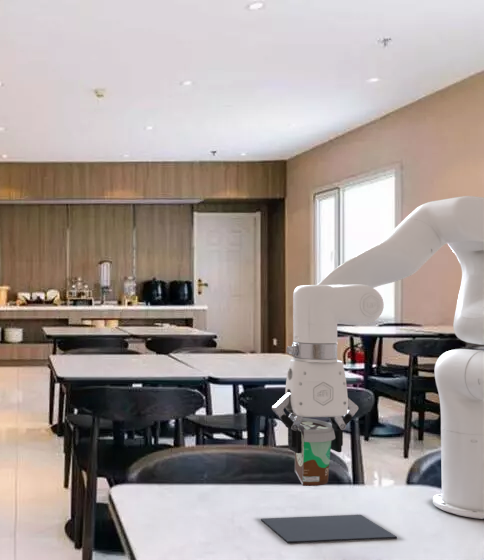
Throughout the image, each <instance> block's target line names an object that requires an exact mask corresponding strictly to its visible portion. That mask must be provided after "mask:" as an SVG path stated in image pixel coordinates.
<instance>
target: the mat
mask: <svg viewBox="0 0 484 560" xmlns="http://www.w3.org/2000/svg"><path fill="white" fill-rule="evenodd" d="M260 520H261V522H263V524H265V525H266V526H267V527H268V528H269V529H271V530H272V531H273V532H274V534H276V535H278V536H279V538H281V539H282V540H283V541H284V542H286V543H287V544H298V543H299V544H302V543H303V544H304V543H305V544H306V543H322V542H324V543H325V542H345V541H347V542H348V541H369V540H391V539H393V540H395V539H398V536H397V535H395V534H393V533H391V532H390V531H388V530H387V529H385V528H383V527H382V526H380V525H378V524H377V523H376V522H374V521H372V520H370V519H369V518H367V517H365V516H363V515H362V514H345V515H343V514H341V515H318V516H316V515H315V516H293V517H292V516H291V517H272V518H271V517H269V518H268V517H267V518H260Z"/></svg>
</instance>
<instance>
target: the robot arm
mask: <svg viewBox="0 0 484 560" xmlns="http://www.w3.org/2000/svg"><path fill="white" fill-rule="evenodd" d="M446 244H447V245H448V247H449V248H450V250H452V253H454V255H455V257H456V259H457V260H458V263H459V265H460V268H461V282H460V288H459V292H458V297H457V301H456V306H455V312H454V317H453V325H452V327H453V333H454V335H455V336H456V337H457V338H458V339H459V340H460V341H463V342H465V343H469V344H474V345H481V346H482V345H483V346H484V197H483V196H474V195H463V196H456V197H450V198H445V199H439V200H432V201H428V202H425V203H423V204H421V205H419V206H417V207H416V208H414V210H413V211H411V213H409V214H408V215H407V216H406V217H405V218H404V219H403V220H402V221H401V222H400V223H399V224H398V225H397V226H396V227H395V228H394V229H393V230H391V232H389V233H388V234H387V235H386V236H385V237H384V238H383V239H382V240H380V242H379V243H377V244H375V245H373V246H371V247H369V248H367V249H365V250H364V251H362V252H360V253H359V254H357V255H355V256H353V257H352V258H350V259H348V260H346V261H345V262H342V263H341V264H339V265H338V266H337V267H336V268H334V269H333V270H332V271H330V272H329V273H328V274H327V275H326V276H325V277H323V278H322V279H321V280H320V282H318V283H317V284H302V285H298V286H296V287H295V288H294V290H293V294H292V342H291V345H290V346H289V345H287V347H286V349H285V350H286V353H287V355H292V359H289V362H288V368H287V373H286V381H285V389H284V390H285V392H284V393H285V394H284V395H283V396H282V397H281V398H279V400H277V402H276V403H274V404H273V405H272V406H271V410H272V412H273V413H274V414H275V415H276V416H277V417H278V419H279V421H280V422H281V423H282V424H283V425H284V427H285V428H287V446H288V447H289V449H290V451H292V452H294V453H295V452H296V453H300V452H301V431H299V430H298V428H299V426H300V424H301V422H302V420H303V418H328V420H329V423H330V424H331V425H332V428H333V429H334V433H335V439H334V440H331V451H335V452H336V453H342V449H343V445H344V430H346V428H347V425H348V424H349V423H350V422H351V421H352V419H353V417H354V416H355V415H356V414H357V412H358V411H359V406H358V405H357V404H356V403H355V402H354V401H352V400H351V398H349V397H348V386H347V378H346V377H347V376H346V372H345V367H344V364H343V361H342V360H339V359H338V325H348V326H364V325H369V324H372V323H373V322H375V321H377V320H378V319H379V318H380V317H381V315H382V314H383V311H384V299H383V297H382V295H381V293H380V292H379V291H378V290H377V289H375V288H377V287H380V286H384V285H388V284H392V283H395V282H399V281H401V280H403V279H406V278H409V277H411V276H413V275H414V274H416V273H417V272H418V271H419V270H420V269H422V267H423V266H424V265H425V264H426V263H427V262H428V261H429V260H430V259H431V258H432V257H433V256H434V255H435V254H436V253H437V252H438V251H439V250H440V249H441V248H442V247H443V246H445V245H446ZM433 373H434V379H435V386H436V389H437V392H438V393H437V394H438V399H439V409H440V465H441V469H440V470H441V479H440V481H441V493H438V494H435V495H434V496H433V497H432V503H433V505H434V506H435V507H436V508H438V509H440V510H442V511H444V512H447V513H450V514H453V515H456V516H461V517H466V518H472V519H480V520H484V350H479V349H470V348H455V349H451V350H448V351H447V350H446V351H445V352H443V353H442V354H441V355H439V357H438V358H437V359H436V362H435V364H434V372H433ZM284 409H285V410H286V411H287V412H288V413H289V414H288V415H287V414H286V412H285V411H284Z"/></svg>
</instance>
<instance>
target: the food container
mask: <svg viewBox="0 0 484 560" xmlns="http://www.w3.org/2000/svg"><path fill="white" fill-rule="evenodd" d="M298 430H299V431H301V452H300V453H296V452H294V473H295V474H296V476H297V478H298V480H299V481H300V483H301V485H302V486H303V487H319V486H324V485H326V484H328V483H329V474H330V463H331V462H330V460H331V451H332V449H331V440H334V439H335V433H334V429H333V428H332V424H331V423H330V422H327V421H325V420H324V421H323V420H320V419H315V418H310V417H304V418H303V420H302V422H301V424H300V426H299V428H298Z"/></svg>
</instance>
